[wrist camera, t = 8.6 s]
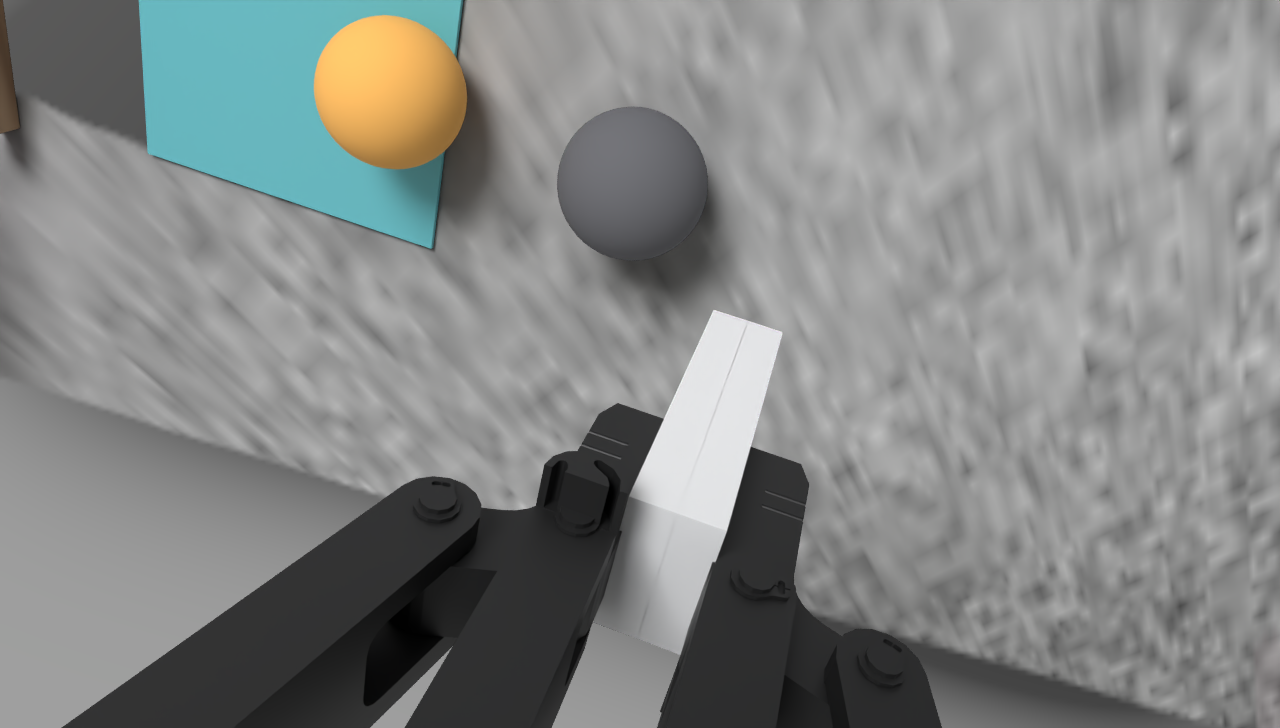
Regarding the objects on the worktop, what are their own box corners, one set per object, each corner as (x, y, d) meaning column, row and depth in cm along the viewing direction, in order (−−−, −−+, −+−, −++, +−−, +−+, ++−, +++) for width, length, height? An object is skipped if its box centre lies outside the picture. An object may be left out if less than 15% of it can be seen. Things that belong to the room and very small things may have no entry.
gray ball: (571, 130, 28) (559, 79, 33) (555, 282, 31) (546, 216, 36) (737, 146, 29) (703, 94, 34) (706, 291, 32) (679, 226, 37)
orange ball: (443, 53, 29) (287, 6, 30) (423, 206, 32) (281, 162, 32) (497, 29, 34) (362, -12, 34) (476, 164, 37) (351, 126, 37)
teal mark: (475, -103, 32) (473, -102, 32) (433, 247, 39) (431, 248, 39) (131, -203, 33) (127, -204, 33) (151, 152, 40) (148, 153, 40)
